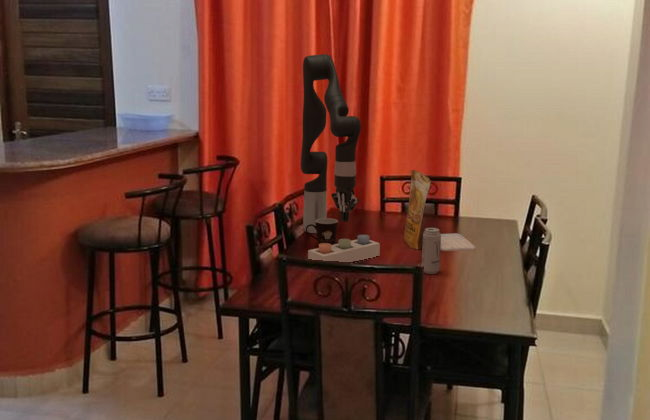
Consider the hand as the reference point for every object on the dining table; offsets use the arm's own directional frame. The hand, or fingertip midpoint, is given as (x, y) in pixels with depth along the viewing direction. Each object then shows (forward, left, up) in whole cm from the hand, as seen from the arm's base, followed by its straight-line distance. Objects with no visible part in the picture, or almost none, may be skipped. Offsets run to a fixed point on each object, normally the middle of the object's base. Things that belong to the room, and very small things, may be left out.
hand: (344, 221), depth 241 cm
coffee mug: (-19, +5, -15) cm, 25 cm away
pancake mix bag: (+1, +35, -15) cm, 38 cm away
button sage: (0, 0, -10) cm, 10 cm away
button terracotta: (0, -9, -10) cm, 13 cm away
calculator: (+9, +47, -15) cm, 50 cm away
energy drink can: (+28, +15, -15) cm, 35 cm away
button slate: (0, +9, -10) cm, 14 cm away
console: (0, 0, -14) cm, 14 cm away
